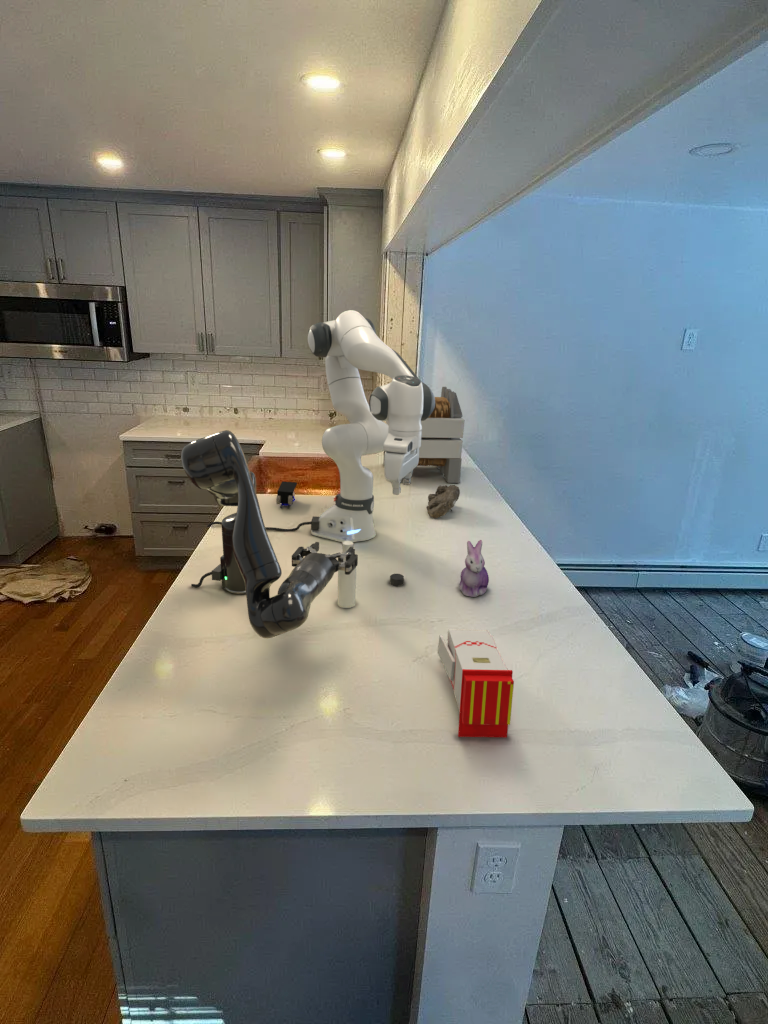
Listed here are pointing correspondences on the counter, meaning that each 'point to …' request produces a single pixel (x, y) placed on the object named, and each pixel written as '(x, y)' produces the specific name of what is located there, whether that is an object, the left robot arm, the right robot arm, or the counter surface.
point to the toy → (478, 682)
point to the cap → (396, 579)
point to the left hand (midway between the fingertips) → (334, 547)
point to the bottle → (346, 583)
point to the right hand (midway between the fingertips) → (401, 489)
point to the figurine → (474, 572)
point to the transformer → (443, 437)
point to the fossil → (442, 500)
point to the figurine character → (286, 494)
